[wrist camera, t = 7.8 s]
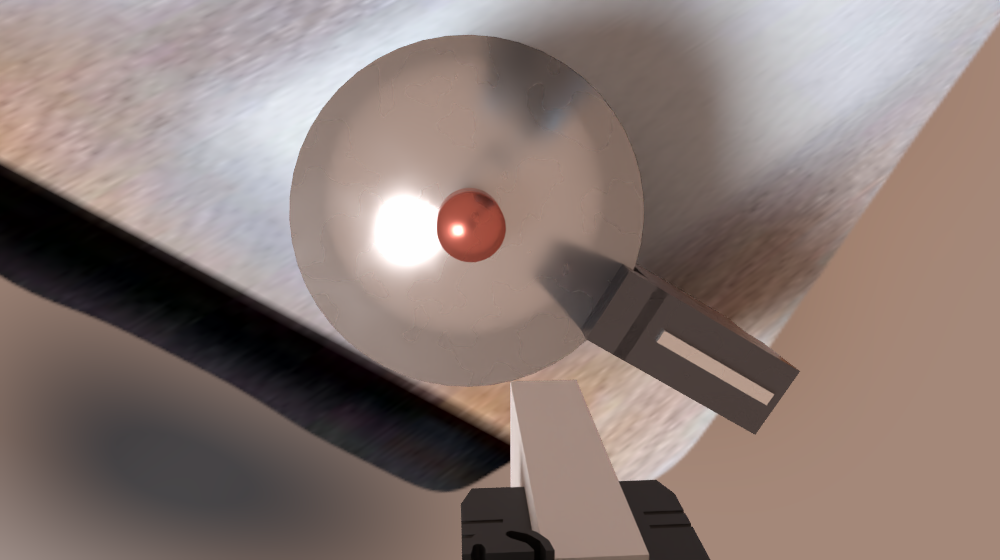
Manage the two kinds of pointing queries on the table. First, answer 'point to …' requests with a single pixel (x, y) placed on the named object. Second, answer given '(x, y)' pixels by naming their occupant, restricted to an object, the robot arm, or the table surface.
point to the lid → (499, 230)
